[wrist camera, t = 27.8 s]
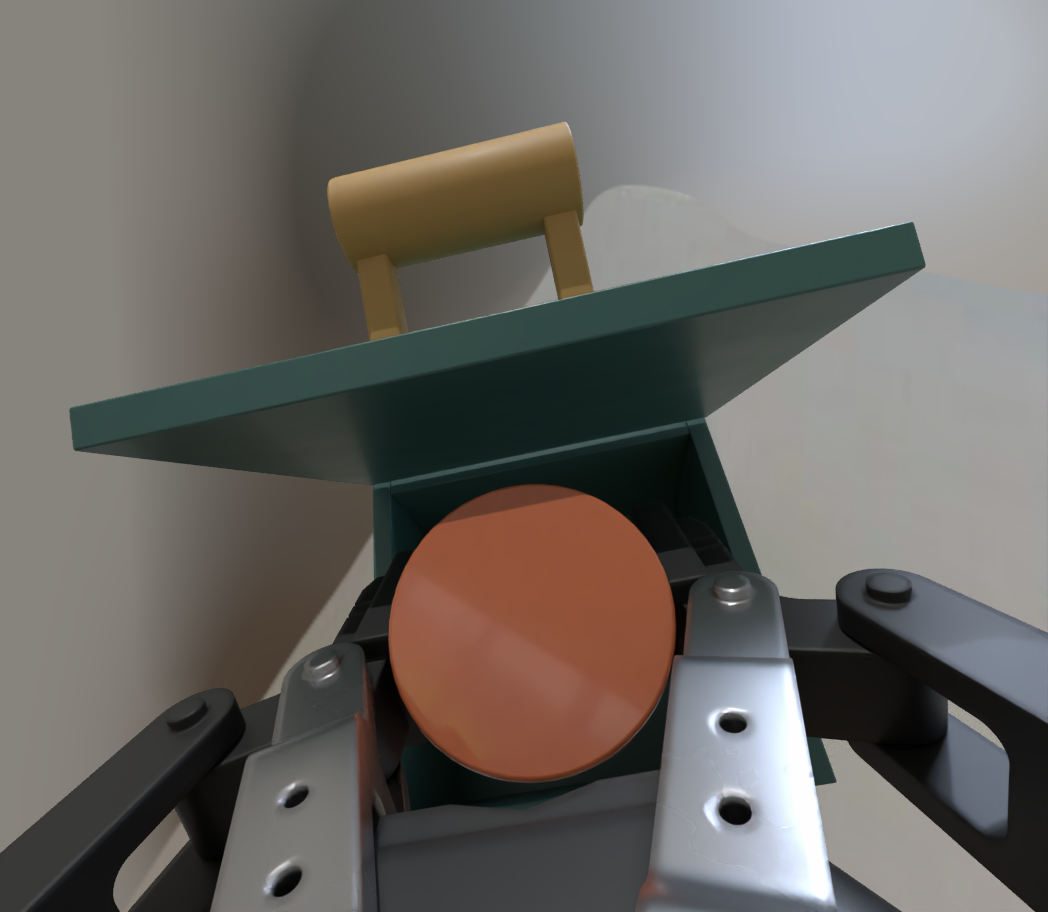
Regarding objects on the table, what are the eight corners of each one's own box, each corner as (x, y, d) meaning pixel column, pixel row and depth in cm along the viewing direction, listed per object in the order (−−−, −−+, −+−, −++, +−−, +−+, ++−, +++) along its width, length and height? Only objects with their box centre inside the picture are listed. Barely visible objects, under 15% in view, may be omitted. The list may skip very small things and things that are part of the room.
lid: (927, 266, 9) (843, -24, 9) (71, 451, 10) (43, 177, 10) (706, 417, 23) (678, 299, 24) (369, 485, 24) (350, 370, 25)
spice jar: (500, 782, 15) (389, 808, 8) (482, 609, 17) (383, 510, 10) (673, 753, 14) (718, 754, 7) (631, 582, 17) (636, 458, 10)
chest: (770, 772, 25) (837, 782, 17) (450, 824, 25) (376, 855, 18) (683, 496, 31) (703, 413, 23) (431, 545, 32) (372, 481, 24)
